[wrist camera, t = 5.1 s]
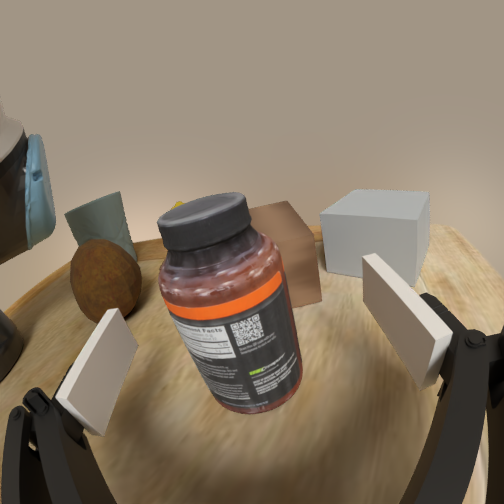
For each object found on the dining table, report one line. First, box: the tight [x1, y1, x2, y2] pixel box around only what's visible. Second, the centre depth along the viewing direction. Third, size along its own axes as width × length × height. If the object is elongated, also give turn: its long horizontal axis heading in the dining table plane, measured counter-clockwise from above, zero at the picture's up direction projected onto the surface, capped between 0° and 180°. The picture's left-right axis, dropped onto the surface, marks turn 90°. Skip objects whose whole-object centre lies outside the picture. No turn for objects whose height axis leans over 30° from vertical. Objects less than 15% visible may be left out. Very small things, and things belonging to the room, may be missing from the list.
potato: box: [70, 239, 142, 324], centre depth 27 cm, size 8×12×9 cm
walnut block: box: [159, 201, 322, 308], centre depth 27 cm, size 12×12×6 cm
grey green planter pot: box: [64, 191, 137, 263], centre depth 40 cm, size 10×10×12 cm
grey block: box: [320, 189, 430, 287], centre depth 25 cm, size 9×9×6 cm
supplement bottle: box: [157, 192, 303, 414], centre depth 14 cm, size 6×6×11 cm
